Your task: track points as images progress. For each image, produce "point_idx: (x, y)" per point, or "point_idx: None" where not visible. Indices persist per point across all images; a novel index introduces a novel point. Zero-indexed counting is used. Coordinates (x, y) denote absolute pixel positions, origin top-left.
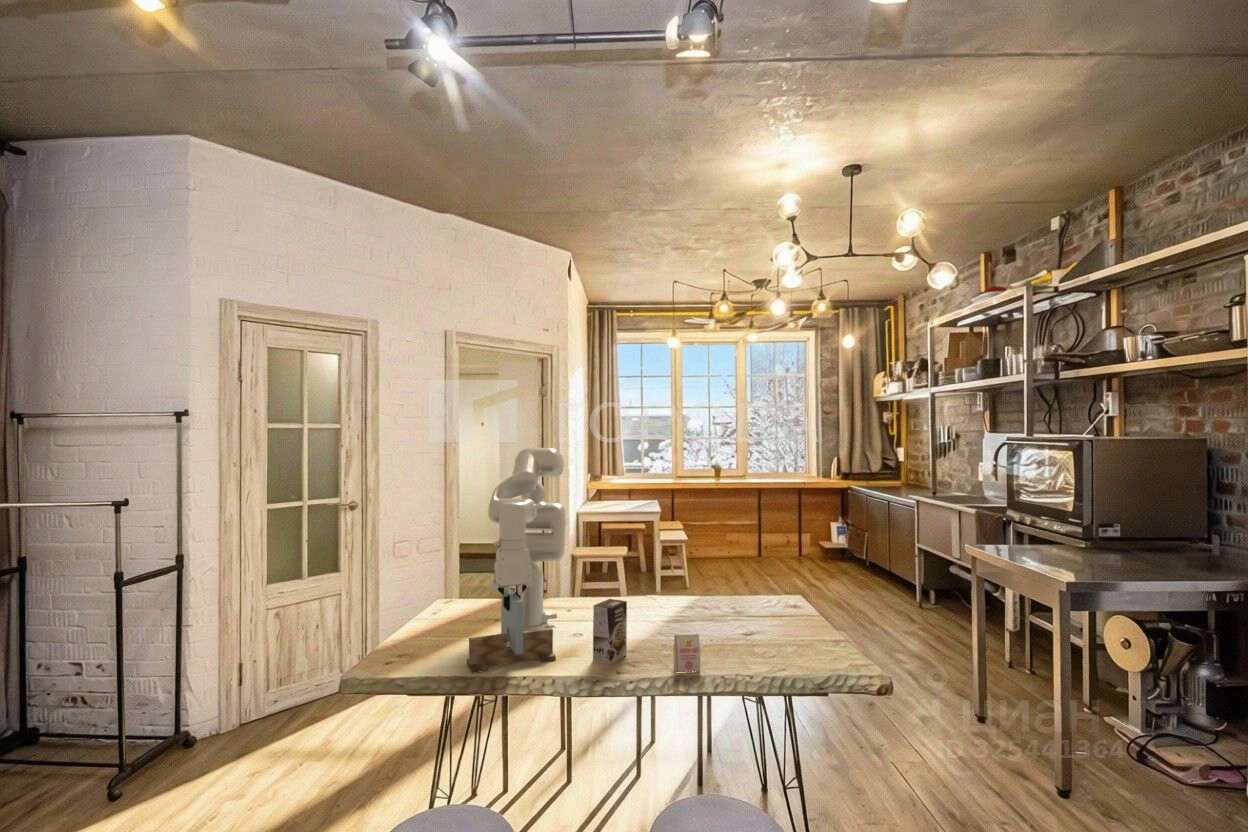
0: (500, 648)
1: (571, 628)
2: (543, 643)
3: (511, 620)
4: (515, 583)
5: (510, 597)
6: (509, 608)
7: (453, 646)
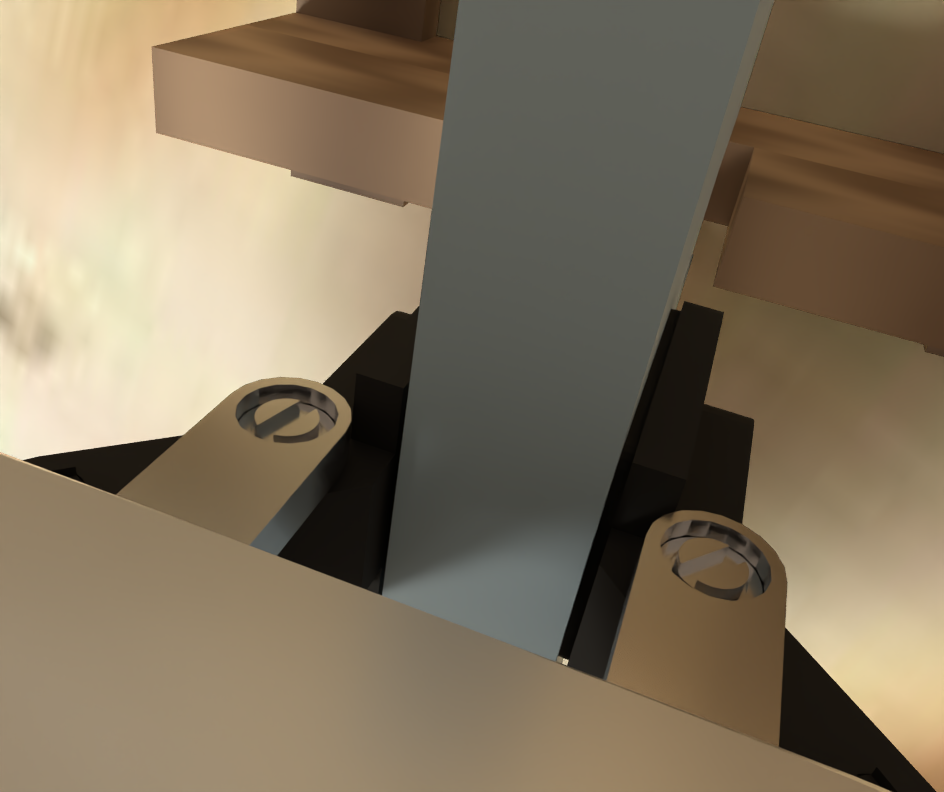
0: (829, 173)
1: (39, 446)
2: (336, 48)
3: (745, 80)
4: (270, 613)
5: (643, 382)
6: (672, 317)
7: (890, 726)
